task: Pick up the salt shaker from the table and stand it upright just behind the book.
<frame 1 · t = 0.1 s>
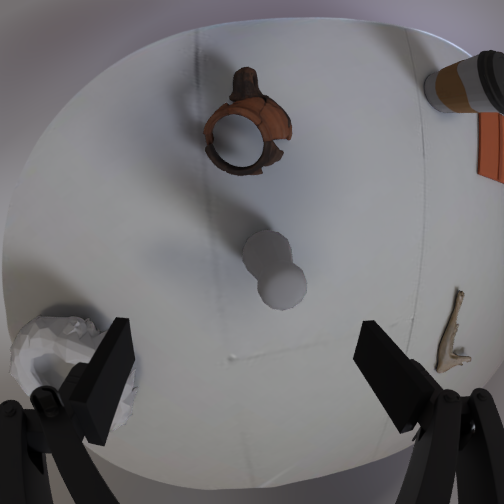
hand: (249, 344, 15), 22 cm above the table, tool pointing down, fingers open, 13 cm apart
bowl: (84, 352, 39), on the table
coffee cup: (437, 93, 33), on the table
curved driftwood piece: (460, 329, 46), on the table
salt shaker: (264, 248, 37), on the table
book: (498, 146, 36), on the table
pottery mug: (247, 125, 32), on the table
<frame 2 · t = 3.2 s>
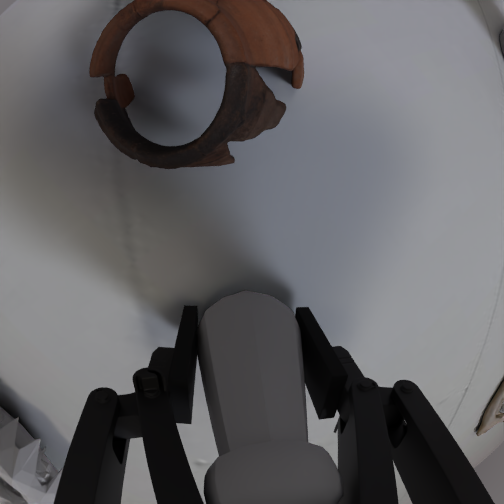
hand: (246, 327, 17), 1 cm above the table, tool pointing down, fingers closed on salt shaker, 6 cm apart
bowl: (10, 426, 20), on the table
salt shaker: (244, 319, 18), on the table, touching gripper
pottery mug: (207, 64, 14), on the table
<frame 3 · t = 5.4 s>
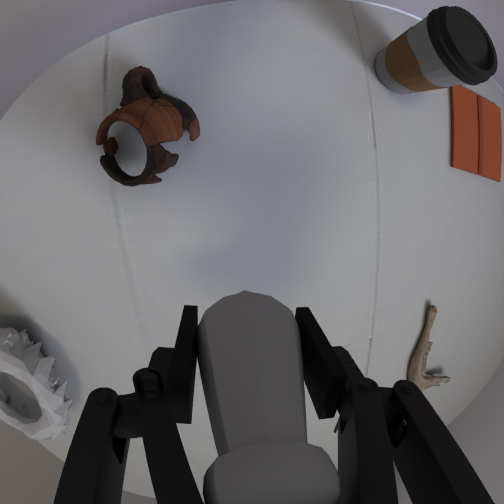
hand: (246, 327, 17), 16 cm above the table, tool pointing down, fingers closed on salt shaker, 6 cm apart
bowl: (30, 362, 35), on the table
coffee cup: (393, 72, 29), on the table
curved driftwood piece: (435, 347, 41), on the table
salt shaker: (244, 319, 18), point 15 cm above the table, touching gripper
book: (478, 133, 32), on the table
pottery mug: (153, 128, 28), on the table
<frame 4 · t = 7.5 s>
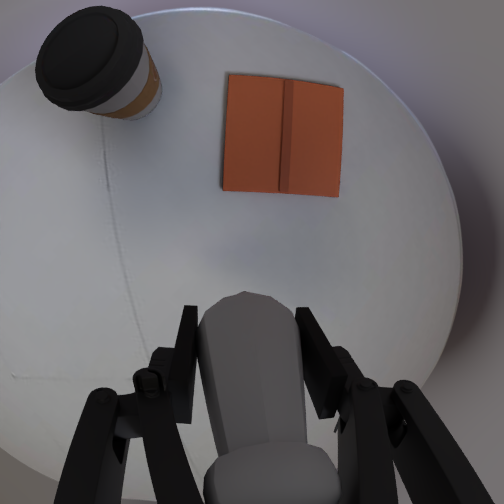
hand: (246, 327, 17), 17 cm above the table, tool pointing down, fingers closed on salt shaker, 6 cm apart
coffee cup: (136, 94, 27), on the table
salt shaker: (244, 319, 18), point 16 cm above the table, touching gripper
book: (285, 135, 30), on the table
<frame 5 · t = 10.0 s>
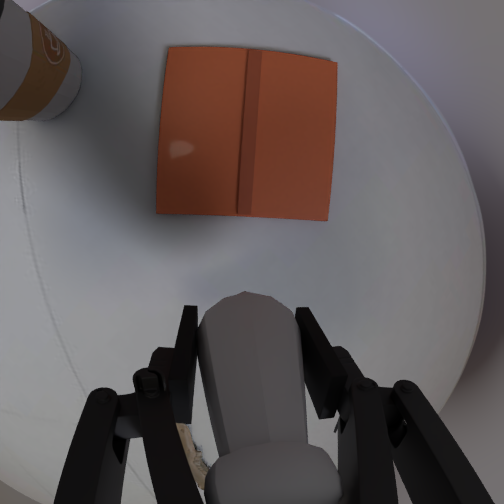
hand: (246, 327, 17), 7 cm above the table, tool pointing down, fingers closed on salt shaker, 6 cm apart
coffee cup: (54, 86, 17), on the table
curved driftwood piece: (223, 454, 30), on the table
salt shaker: (244, 320, 18), point 6 cm above the table, touching gripper
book: (248, 129, 20), on the table
when the fingers open (1 cm above the table, at t = 11.8 s): salt shaker stays where it is, on the table.
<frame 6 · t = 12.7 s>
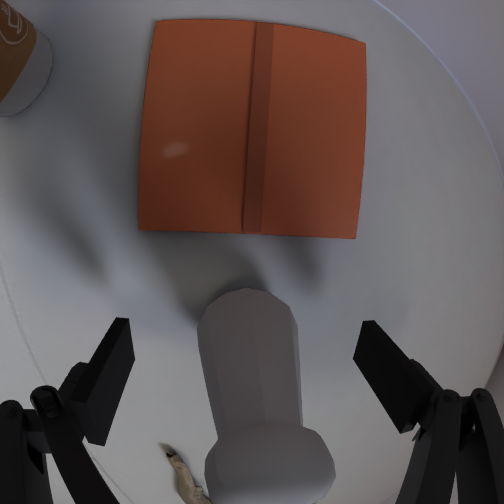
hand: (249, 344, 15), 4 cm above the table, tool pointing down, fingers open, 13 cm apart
coffee cup: (23, 76, 13), on the table
curved driftwood piece: (226, 487, 25), on the table
salt shaker: (244, 315, 19), on the table
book: (257, 120, 16), on the table
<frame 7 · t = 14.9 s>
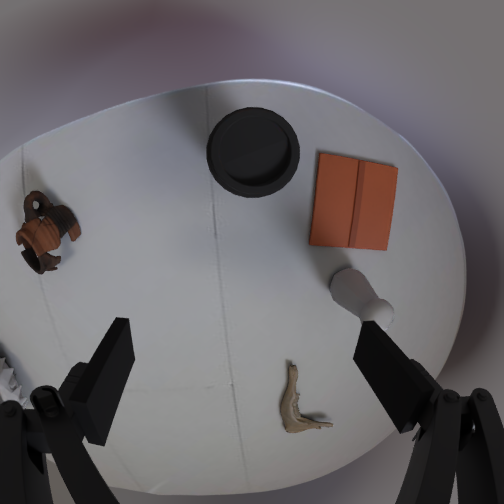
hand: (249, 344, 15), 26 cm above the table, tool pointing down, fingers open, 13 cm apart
bowl: (1, 369, 43), on the table
coffee cup: (242, 158, 38), on the table
curved driftwood piece: (310, 397, 50), on the table
salt shaker: (342, 281, 44), on the table
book: (355, 203, 41), on the table
pottery mug: (54, 226, 37), on the table
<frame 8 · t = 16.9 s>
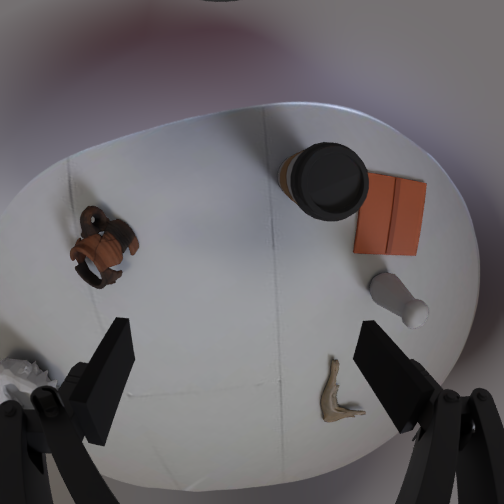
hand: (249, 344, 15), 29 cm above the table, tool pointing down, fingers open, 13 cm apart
bowl: (39, 380, 48), on the table
coffee cup: (298, 176, 42), on the table
curved driftwood piece: (346, 388, 54), on the table
salt shaker: (379, 283, 48), on the table
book: (391, 216, 45), on the table
pottery mug: (108, 240, 41), on the table
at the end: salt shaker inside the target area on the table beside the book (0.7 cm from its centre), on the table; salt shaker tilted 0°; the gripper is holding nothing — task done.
